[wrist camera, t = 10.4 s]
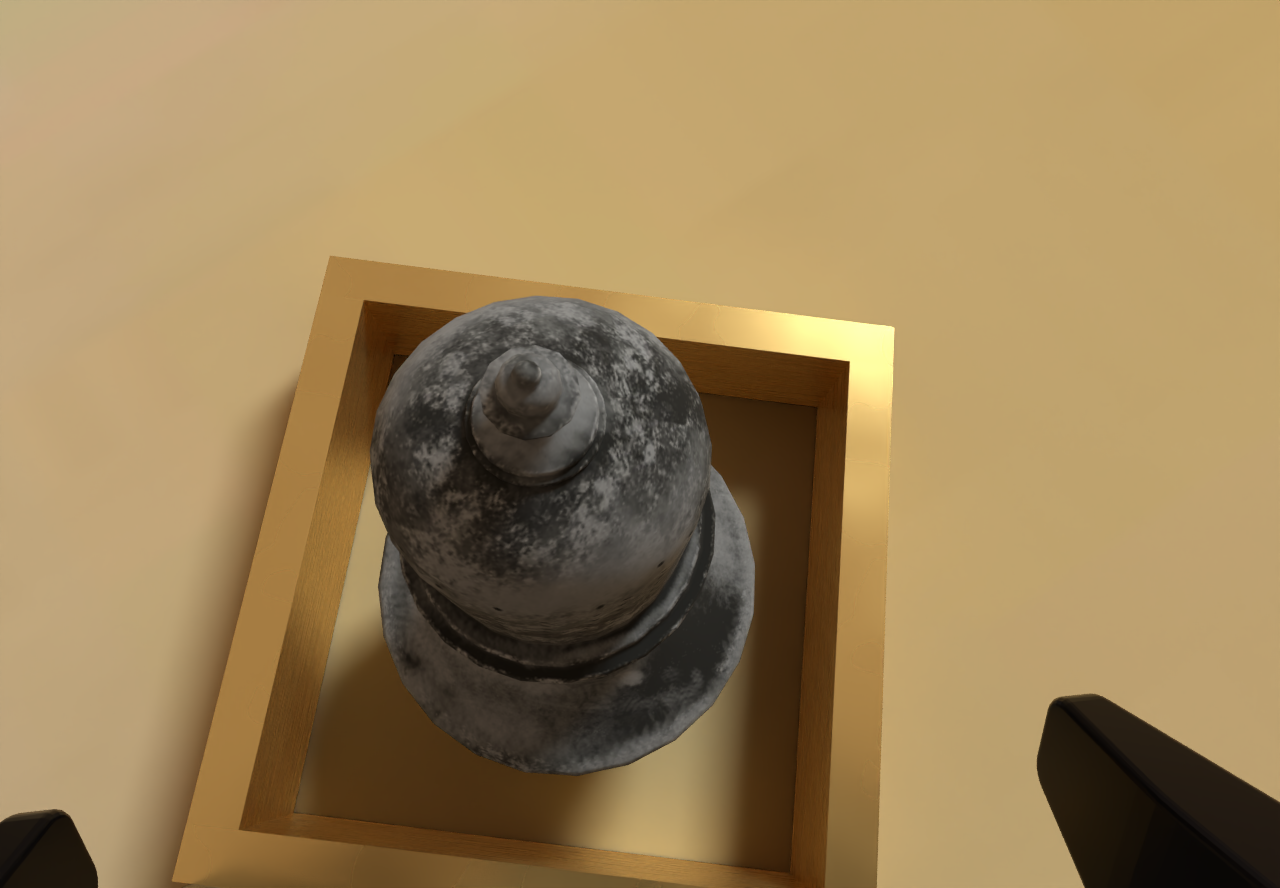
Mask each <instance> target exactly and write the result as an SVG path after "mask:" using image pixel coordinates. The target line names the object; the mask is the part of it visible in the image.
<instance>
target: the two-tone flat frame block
mask: <svg viewBox="0 0 1280 888" xmlns="http://www.w3.org/2000/svg"><path fill="white" fill-rule="evenodd" d="M530 296H548V297H561V298H574V299H580V300H583V301H586V302H590V303H593V304H596V305H599V306H602V307H605V308H608V309H611V310H615V311H618V312H619V313H621V314H622V315H624V316H626V317H627V318H629V319H631V320H632V321H634V322H635V323H637V324H639V325H640V326H642V327H644V328H645V329H647V330H649V331H650V332H652V333H653V334H654V335H655V336H656V337H657V338H658V339H659V340H660V341H661V342H662V343H663V344H664V346H665V347H666V348H667V349H668V350H669V351H670V352H671V353H672V354H673V355H674V356H675V357H676V358H677V359H678V360H679V361H680V362H681V364H682V366H683V368H684V370H685V371H686V373H687V375H688V377H689V379H690V380H691V382H692V384H693V386H694V388H695V390H696V391H697V392H701V393H709V394H717V395H725V396H733V397H741V398H749V399H757V400H765V401H773V402H781V403H789V404H797V405H805V406H813V407H818V408H817V425H816V442H815V459H814V476H813V493H812V510H811V527H810V544H809V561H808V578H807V595H806V612H805V628H804V645H803V662H802V679H801V696H800V713H799V730H798V747H797V764H796V781H795V798H794V815H793V832H792V849H791V866H790V873H785V872H777V871H769V870H760V869H752V868H744V867H736V866H728V865H719V864H711V863H703V862H695V861H686V860H678V859H670V858H662V857H654V856H645V855H637V854H629V853H621V852H613V851H604V850H596V849H588V848H580V847H571V846H563V845H555V844H547V843H539V842H530V841H522V840H514V839H506V838H497V837H489V836H481V835H473V834H465V833H456V832H448V831H440V830H432V829H424V828H415V827H407V826H399V825H391V824H382V823H374V822H366V821H358V820H350V819H341V818H333V817H325V816H317V815H309V814H300V813H294V808H295V804H296V799H297V795H298V790H299V785H300V781H301V776H302V772H303V767H304V763H305V758H306V754H307V749H308V744H309V740H310V735H311V731H312V726H313V722H314V717H315V713H316V708H317V703H318V699H319V694H320V690H321V685H322V681H323V676H324V672H325V667H326V662H327V658H328V653H329V649H330V644H331V640H332V635H333V631H334V626H335V621H336V617H337V612H338V608H339V603H340V599H341V594H342V590H343V585H344V580H345V576H346V571H347V567H348V562H349V558H350V553H351V549H352V544H353V539H354V535H355V530H356V526H357V521H358V517H359V512H360V508H361V503H362V499H363V494H364V489H365V485H366V480H367V476H368V471H369V467H370V462H371V461H370V447H371V441H372V435H373V429H374V423H375V417H376V411H377V409H378V407H379V405H380V403H381V401H382V399H383V397H384V394H385V392H386V389H387V385H388V380H389V376H390V371H391V366H392V362H393V357H394V354H399V355H407V356H410V355H411V354H412V352H413V351H414V350H415V349H416V348H417V347H418V345H419V344H420V343H421V342H422V341H424V340H425V339H426V338H428V337H429V336H431V335H432V334H433V333H435V332H436V331H438V330H439V329H440V328H442V327H443V326H445V325H446V324H447V323H449V322H450V321H452V320H453V319H454V318H456V317H459V316H461V315H464V314H466V313H468V312H471V311H473V310H476V309H478V308H481V307H483V306H486V305H488V304H491V303H493V302H498V301H504V300H511V299H517V298H524V297H530ZM893 352H894V327H888V326H880V325H872V324H864V323H856V322H848V321H840V320H833V319H825V318H817V317H809V316H801V315H793V314H785V313H777V312H769V311H761V310H754V309H746V308H738V307H730V306H722V305H714V304H706V303H698V302H690V301H682V300H675V299H667V298H659V297H651V296H643V295H635V294H627V293H619V292H611V291H603V290H596V289H588V288H580V287H572V286H564V285H556V284H548V283H540V282H532V281H525V280H517V279H509V278H501V277H493V276H485V275H477V274H469V273H461V272H453V271H446V270H438V269H430V268H422V267H414V266H406V265H398V264H390V263H382V262H374V261H367V260H359V259H351V258H343V257H335V256H330V258H329V262H328V266H327V270H326V274H325V277H324V281H323V285H322V289H321V293H320V297H319V301H318V305H317V309H316V313H315V317H314V321H313V325H312V329H311V333H310V337H309V341H308V345H307V349H306V353H305V356H304V360H303V364H302V368H301V372H300V376H299V380H298V384H297V388H296V392H295V396H294V400H293V404H292V408H291V412H290V416H289V420H288V424H287V428H286V432H285V435H284V439H283V443H282V447H281V451H280V455H279V459H278V463H277V467H276V471H275V475H274V479H273V483H272V487H271V491H270V495H269V499H268V503H267V507H266V511H265V514H264V518H263V522H262V526H261V530H260V534H259V538H258V542H257V546H256V550H255V554H254V558H253V562H252V566H251V570H250V574H249V578H248V582H247V586H246V590H245V593H244V597H243V601H242V605H241V609H240V613H239V617H238V621H237V625H236V629H235V633H234V637H233V641H232V645H231V649H230V653H229V657H228V661H227V665H226V669H225V673H224V676H223V680H222V684H221V688H220V692H219V696H218V700H217V704H216V708H215V712H214V716H213V720H212V724H211V728H210V732H209V736H208V740H207V744H206V748H205V752H204V755H203V759H202V763H201V767H200V771H199V775H198V779H197V783H196V787H195V791H194V795H193V799H192V803H191V807H190V811H189V815H188V819H187V823H186V827H185V831H184V834H183V838H182V842H181V846H180V850H179V854H178V858H177V862H176V866H175V870H174V874H173V878H172V882H180V883H189V884H190V885H188V886H185V887H183V888H877V858H878V826H879V795H880V763H881V732H882V700H883V668H884V637H885V605H886V573H887V542H888V510H889V478H890V447H891V415H892V383H893Z"/></svg>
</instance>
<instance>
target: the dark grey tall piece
mask: <svg viewBox="0 0 1280 888" xmlns="http://www.w3.org/2000/svg"><path fill="white" fill-rule="evenodd" d="M711 453H712V444H711V440H710V436H709V431H708V427H707V423H706V419H705V414H704V410H703V406H702V403H701V400H700V397H699V395H698V393H697V391H696V390H695V388H694V386H693V384H692V382H691V380H690V379H689V377H688V375H687V373H686V371H685V370H684V368H683V366H682V364H681V362H680V361H679V360H678V359H677V358H676V357H675V356H674V355H673V354H672V353H671V352H670V351H669V350H668V349H667V348H666V347H665V346H664V344H663V343H662V342H661V341H660V340H659V339H658V338H657V337H656V336H655V335H654V334H653V333H652V332H650V331H649V330H647V329H645V328H644V327H642V326H640V325H639V324H637V323H635V322H634V321H632V320H631V319H629V318H627V317H626V316H624V315H622V314H621V313H619V312H618V311H615V310H611V309H608V308H605V307H602V306H599V305H596V304H593V303H590V302H586V301H583V300H580V299H574V298H561V297H548V296H530V297H524V298H517V299H511V300H504V301H498V302H493V303H491V304H488V305H486V306H483V307H481V308H478V309H476V310H473V311H471V312H468V313H466V314H464V315H461V316H459V317H456V318H454V319H453V320H452V321H450V322H449V323H447V324H446V325H445V326H443V327H442V328H440V329H439V330H438V331H436V332H435V333H433V334H432V335H431V336H429V337H428V338H426V339H425V340H424V341H422V342H421V343H420V344H419V345H418V347H417V348H416V349H415V350H414V351H413V352H412V354H411V355H410V356H409V357H408V358H407V359H406V361H405V362H404V363H403V364H402V365H401V367H400V368H399V369H398V370H397V371H396V372H395V374H394V375H393V378H392V380H391V382H390V384H389V386H388V388H387V390H386V392H385V394H384V397H383V399H382V401H381V403H380V405H379V407H378V409H377V411H376V417H375V423H374V429H373V435H372V441H371V447H370V461H371V470H372V479H373V487H374V496H375V504H376V506H377V509H378V511H379V514H380V516H381V518H382V521H383V523H384V525H385V528H386V530H387V532H388V533H387V536H386V539H385V546H384V552H383V558H382V565H381V571H380V578H379V584H378V590H379V599H380V608H381V617H382V626H383V635H384V638H385V641H386V643H387V646H388V648H389V651H390V653H391V656H392V658H393V661H394V663H395V666H396V668H397V671H398V673H399V676H400V678H401V681H402V683H403V685H404V686H405V687H406V688H407V690H408V691H409V692H410V694H411V695H412V696H413V697H414V699H415V700H416V701H417V703H418V704H419V705H420V707H421V708H422V709H423V710H424V712H425V713H426V714H427V716H428V717H429V718H430V719H431V721H432V722H433V723H434V724H435V725H436V726H438V727H439V728H440V729H442V730H443V731H444V732H446V733H447V734H449V735H450V736H451V737H453V738H454V739H455V740H457V741H458V742H460V743H461V744H462V745H464V746H465V747H466V748H468V749H469V750H470V751H472V752H473V753H475V754H476V755H479V756H482V757H484V758H487V759H490V760H493V761H495V762H498V763H501V764H504V765H506V766H509V767H512V768H515V769H517V770H520V771H523V772H530V773H545V774H559V775H574V776H578V775H583V774H588V773H592V772H597V771H602V770H606V769H611V768H616V767H620V766H625V765H629V764H631V763H633V762H635V761H637V760H639V759H641V758H642V757H644V756H646V755H648V754H650V753H652V752H654V751H656V750H658V749H660V748H661V747H663V746H665V745H667V744H669V743H671V742H673V741H675V740H676V739H677V738H678V737H679V736H680V735H681V734H682V733H683V732H685V731H686V730H687V729H688V728H689V727H690V726H691V725H692V724H693V723H694V722H695V721H696V720H697V719H698V718H699V717H700V716H702V715H703V714H704V713H705V712H706V711H707V710H708V709H709V708H710V707H711V706H712V705H713V704H714V702H715V701H716V699H717V697H718V696H719V694H720V692H721V691H722V689H723V688H724V686H725V684H726V683H727V681H728V679H729V678H730V676H731V675H732V673H733V671H734V670H735V668H736V666H737V665H738V663H739V661H740V658H741V655H742V651H743V648H744V645H745V641H746V638H747V635H748V631H749V628H750V624H751V621H752V618H753V614H754V583H755V562H754V558H753V554H752V550H751V546H750V541H749V537H748V533H747V529H746V525H745V520H744V517H743V515H742V513H741V512H740V510H739V508H738V506H737V504H736V502H735V500H734V498H733V497H732V495H731V493H730V491H729V489H728V487H727V485H726V483H725V482H724V480H723V478H722V476H721V475H720V474H719V473H718V472H717V471H716V470H715V469H714V467H713V466H712V465H711Z"/></svg>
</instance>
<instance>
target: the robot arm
mask: <svg viewBox="0 0 1280 888" xmlns="http://www.w3.org/2000/svg"><path fill="white" fill-rule="evenodd" d="M1037 772H1038V777H1039V781H1040V784H1041V786H1042V789H1043V791H1044V794H1045V796H1046V798H1047V801H1048V803H1049V805H1050V808H1051V810H1052V812H1053V815H1054V817H1055V819H1056V822H1057V824H1058V826H1059V829H1060V831H1061V833H1062V836H1063V838H1064V840H1065V843H1066V845H1067V847H1068V850H1069V852H1070V854H1071V857H1072V859H1073V861H1074V864H1075V866H1076V868H1077V871H1078V873H1079V875H1080V878H1081V880H1082V882H1083V885H1084V887H1085V888H1280V802H1279V801H1277V800H1275V799H1274V798H1272V797H1270V796H1269V795H1267V794H1265V793H1264V792H1262V791H1260V790H1259V789H1257V788H1255V787H1254V786H1252V785H1250V784H1249V783H1247V782H1245V781H1243V780H1242V779H1240V778H1238V777H1237V776H1235V775H1233V774H1232V773H1230V772H1228V771H1227V770H1225V769H1223V768H1222V767H1220V766H1218V765H1217V764H1215V763H1213V762H1212V761H1210V760H1208V759H1207V758H1205V757H1203V756H1202V755H1200V754H1198V753H1197V752H1195V751H1193V750H1192V749H1190V748H1188V747H1187V746H1185V745H1183V744H1182V743H1180V742H1178V741H1177V740H1175V739H1173V738H1172V737H1170V736H1168V735H1167V734H1165V733H1163V732H1162V731H1160V730H1158V729H1157V728H1155V727H1153V726H1152V725H1150V724H1148V723H1147V722H1145V721H1143V720H1142V719H1140V718H1138V717H1137V716H1135V715H1133V714H1132V713H1130V712H1128V711H1127V710H1125V709H1123V708H1122V707H1120V706H1118V705H1117V704H1115V703H1113V702H1111V701H1110V700H1108V699H1106V698H1104V697H1102V696H1100V695H1097V694H1082V695H1073V696H1064V697H1058V698H1056V699H1054V700H1053V701H1052V703H1051V704H1050V705H1049V708H1048V712H1047V716H1046V720H1045V725H1044V729H1043V733H1042V738H1041V742H1040V747H1039V751H1038V755H1037ZM0 888H98V877H97V871H96V868H95V865H94V863H93V861H92V859H91V857H90V855H89V853H88V851H87V849H86V847H85V845H84V843H83V841H82V839H81V837H80V835H79V833H78V831H77V829H76V827H75V824H74V822H73V820H72V819H71V817H70V816H69V815H68V814H67V813H65V812H64V811H62V810H57V809H53V810H44V811H35V812H26V813H18V814H15V815H12V816H10V817H8V818H6V819H4V820H3V821H2V822H0Z"/></svg>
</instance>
